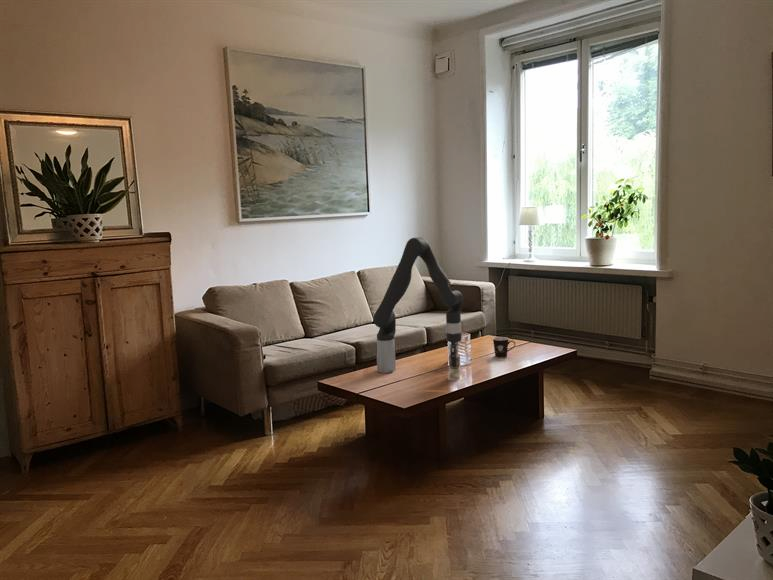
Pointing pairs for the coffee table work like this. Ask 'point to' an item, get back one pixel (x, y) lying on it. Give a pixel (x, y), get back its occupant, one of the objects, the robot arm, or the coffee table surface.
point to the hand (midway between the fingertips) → (454, 365)
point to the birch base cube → (454, 373)
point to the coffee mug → (501, 346)
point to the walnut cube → (456, 361)
